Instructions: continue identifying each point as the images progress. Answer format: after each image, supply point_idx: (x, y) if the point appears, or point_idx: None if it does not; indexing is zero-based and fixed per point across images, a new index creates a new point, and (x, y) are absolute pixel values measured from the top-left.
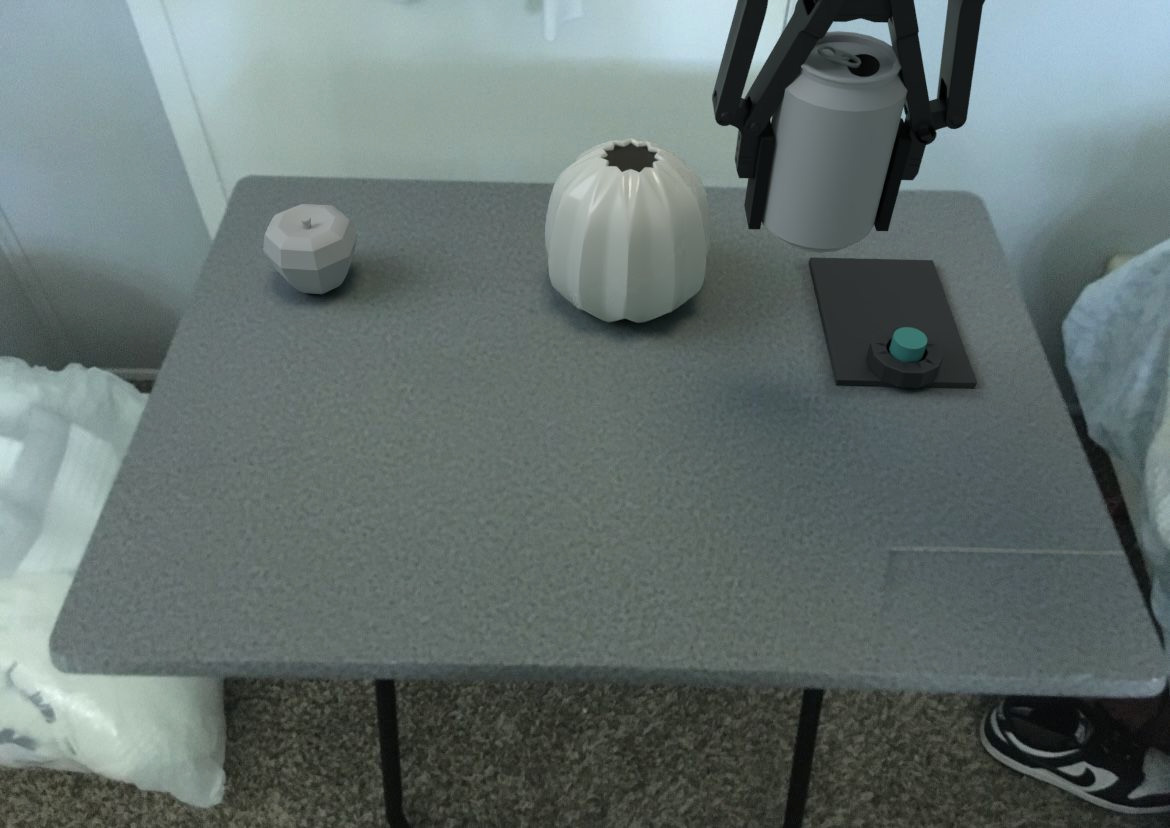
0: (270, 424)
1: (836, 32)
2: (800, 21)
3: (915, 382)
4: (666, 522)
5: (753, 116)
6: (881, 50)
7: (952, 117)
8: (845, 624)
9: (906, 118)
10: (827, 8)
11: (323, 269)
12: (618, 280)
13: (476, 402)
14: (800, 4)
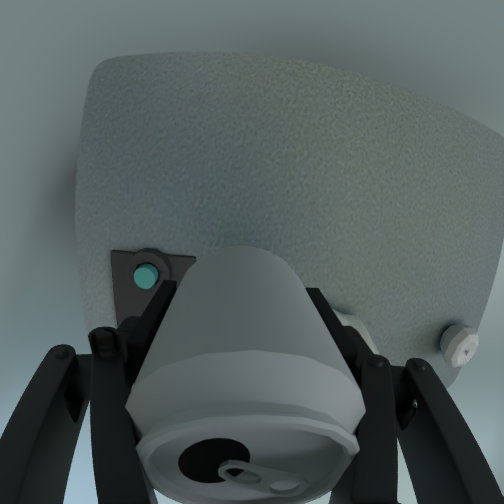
0: (476, 241)
1: None
2: None
3: (146, 249)
4: (324, 148)
5: (386, 372)
6: (171, 484)
7: (64, 356)
8: (235, 73)
9: (130, 384)
10: None
11: (461, 329)
12: (345, 323)
13: (407, 251)
14: None
